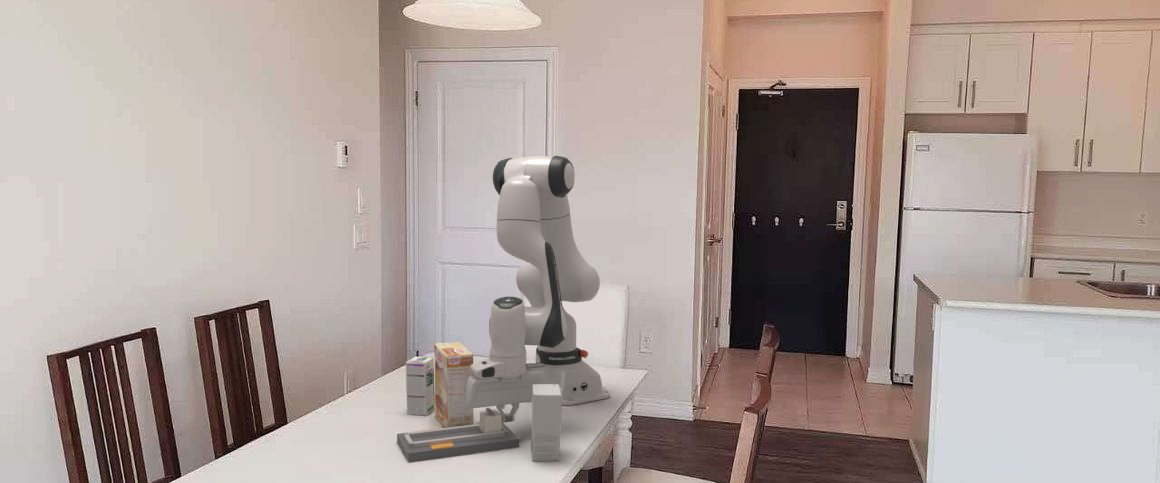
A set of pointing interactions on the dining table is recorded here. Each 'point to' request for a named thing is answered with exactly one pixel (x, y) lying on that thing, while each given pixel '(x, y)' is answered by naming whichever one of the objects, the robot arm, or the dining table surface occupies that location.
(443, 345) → the coffeecake box
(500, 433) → the board
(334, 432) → the dining table surface
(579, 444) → the dining table surface
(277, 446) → the dining table surface
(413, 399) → the syrup box
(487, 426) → the fader tab
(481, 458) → the dining table surface
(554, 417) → the skincare box
